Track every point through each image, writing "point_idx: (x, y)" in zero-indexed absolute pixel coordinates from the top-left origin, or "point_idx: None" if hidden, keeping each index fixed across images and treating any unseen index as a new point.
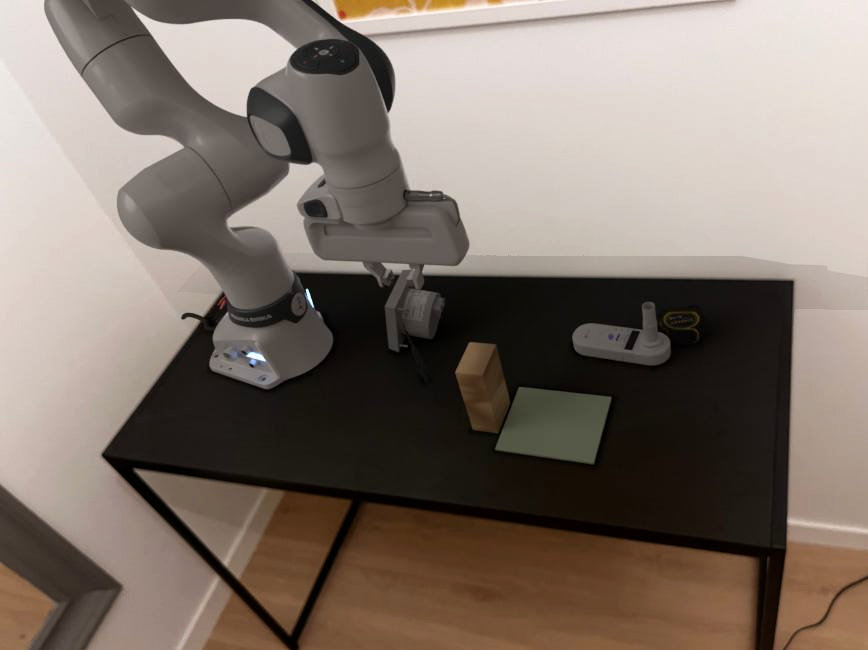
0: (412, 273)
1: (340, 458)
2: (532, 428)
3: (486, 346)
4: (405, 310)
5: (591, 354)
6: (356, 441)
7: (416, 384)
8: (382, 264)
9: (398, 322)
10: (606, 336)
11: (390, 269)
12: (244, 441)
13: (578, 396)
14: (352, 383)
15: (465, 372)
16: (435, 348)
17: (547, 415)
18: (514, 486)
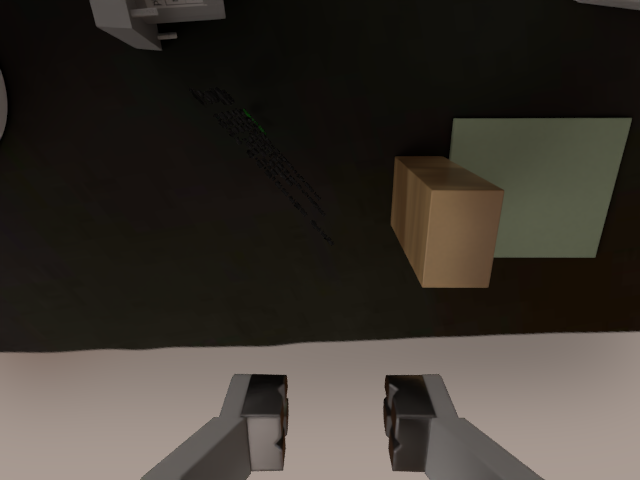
0: (413, 437)
1: (198, 306)
2: None
3: (481, 201)
4: None
5: (601, 3)
6: (205, 274)
7: (246, 137)
8: (224, 440)
9: (142, 19)
10: None
11: (271, 417)
12: (17, 304)
13: (571, 126)
14: (116, 154)
15: (447, 286)
16: (239, 23)
17: (516, 179)
18: (478, 306)
